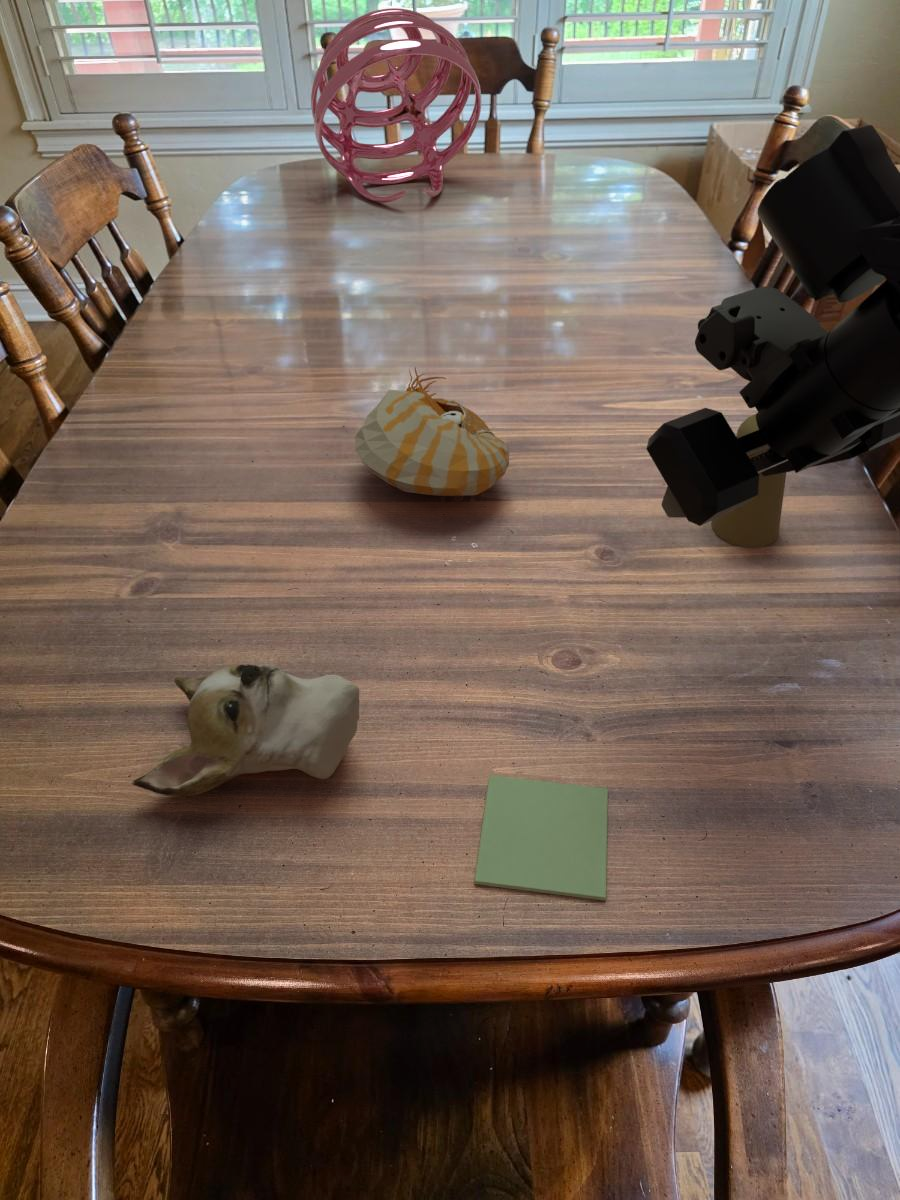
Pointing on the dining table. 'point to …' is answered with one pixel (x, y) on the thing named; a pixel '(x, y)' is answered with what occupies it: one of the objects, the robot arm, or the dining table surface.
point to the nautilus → (430, 444)
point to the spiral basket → (406, 111)
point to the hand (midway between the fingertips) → (715, 489)
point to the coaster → (544, 838)
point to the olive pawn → (754, 508)
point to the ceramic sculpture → (257, 728)
